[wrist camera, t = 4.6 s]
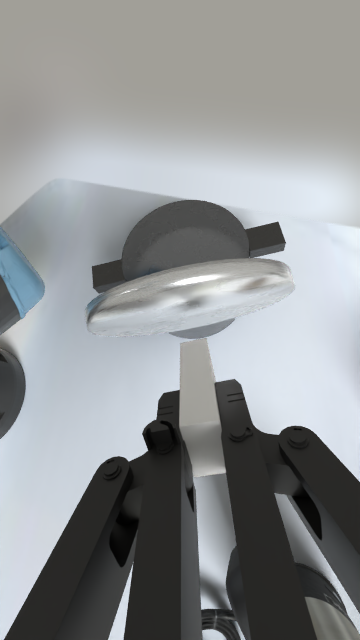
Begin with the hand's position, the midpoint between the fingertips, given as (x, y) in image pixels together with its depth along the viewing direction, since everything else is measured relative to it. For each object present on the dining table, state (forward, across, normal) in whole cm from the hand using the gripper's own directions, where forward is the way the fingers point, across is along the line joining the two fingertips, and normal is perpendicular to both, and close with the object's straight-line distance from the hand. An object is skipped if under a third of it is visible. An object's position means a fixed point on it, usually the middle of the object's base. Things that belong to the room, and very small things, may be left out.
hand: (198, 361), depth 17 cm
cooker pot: (+27, 0, -5) cm, 28 cm away
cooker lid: (+8, 0, +1) cm, 8 cm away
